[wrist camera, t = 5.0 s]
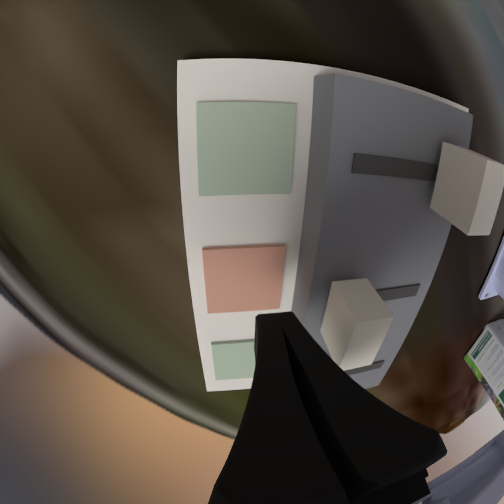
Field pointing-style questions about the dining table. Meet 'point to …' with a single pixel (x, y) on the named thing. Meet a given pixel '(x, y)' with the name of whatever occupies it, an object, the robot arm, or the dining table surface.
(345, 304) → the knob middle
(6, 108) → the dining table surface
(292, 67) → the switch unit
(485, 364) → the syrup box
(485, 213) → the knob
